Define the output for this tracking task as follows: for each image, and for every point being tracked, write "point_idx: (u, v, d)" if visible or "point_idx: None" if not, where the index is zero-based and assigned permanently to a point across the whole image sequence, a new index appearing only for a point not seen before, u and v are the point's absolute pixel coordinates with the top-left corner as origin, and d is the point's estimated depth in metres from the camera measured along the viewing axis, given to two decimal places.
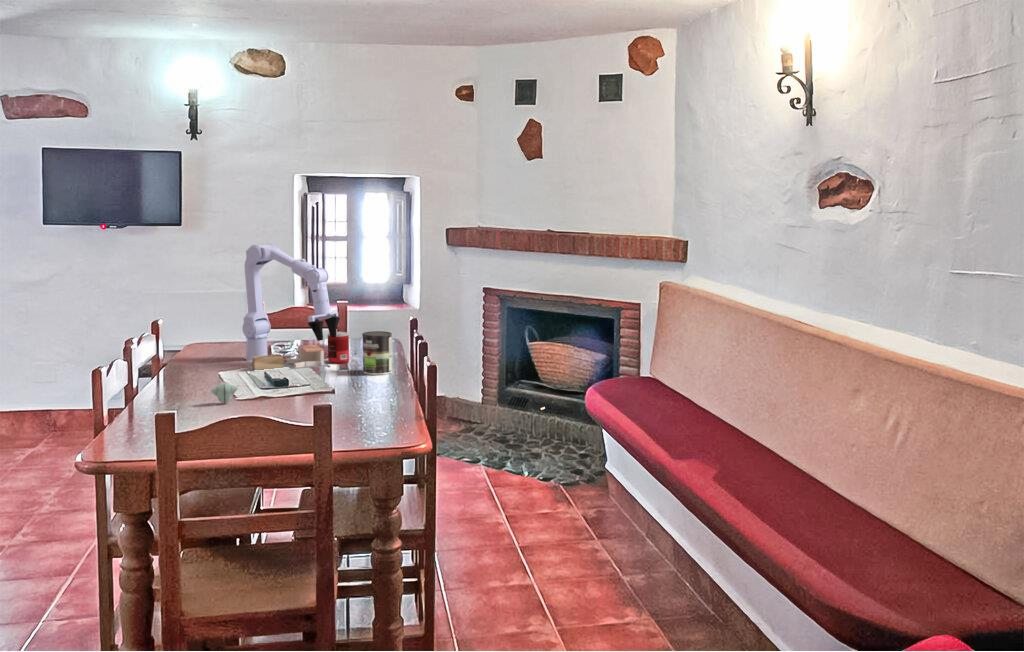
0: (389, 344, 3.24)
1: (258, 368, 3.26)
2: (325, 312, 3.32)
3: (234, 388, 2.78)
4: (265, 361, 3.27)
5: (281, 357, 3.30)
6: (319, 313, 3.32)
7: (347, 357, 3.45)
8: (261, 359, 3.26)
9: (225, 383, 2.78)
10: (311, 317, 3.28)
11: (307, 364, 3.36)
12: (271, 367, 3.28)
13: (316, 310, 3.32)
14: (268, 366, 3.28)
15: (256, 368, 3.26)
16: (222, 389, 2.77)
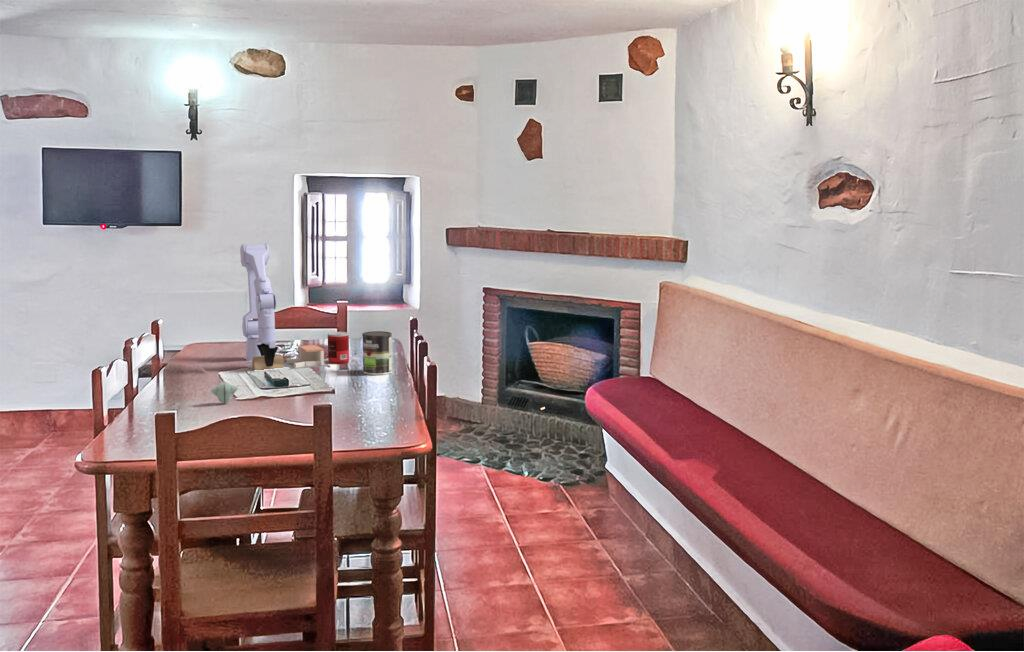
0: (389, 344, 3.24)
1: (258, 368, 3.26)
2: None
3: (234, 388, 2.78)
4: None
5: (281, 357, 3.30)
6: None
7: (347, 357, 3.45)
8: (261, 359, 3.26)
9: (225, 383, 2.78)
10: None
11: (307, 364, 3.36)
12: (271, 367, 3.28)
13: None
14: (268, 366, 3.28)
15: (256, 368, 3.26)
16: (222, 389, 2.77)
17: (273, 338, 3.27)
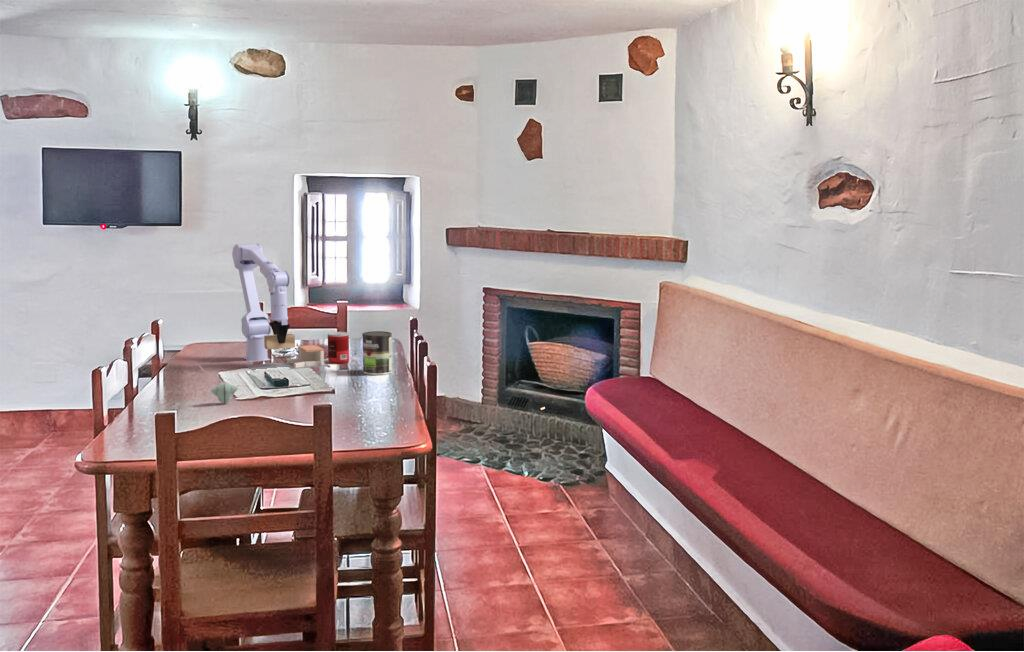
0: (389, 344, 3.24)
1: (270, 347, 3.30)
2: None
3: (234, 388, 2.78)
4: (277, 340, 3.31)
5: (293, 336, 3.34)
6: None
7: (347, 357, 3.45)
8: (273, 338, 3.30)
9: (225, 383, 2.78)
10: None
11: (307, 364, 3.36)
12: (283, 346, 3.33)
13: None
14: (279, 345, 3.32)
15: (268, 346, 3.30)
16: (222, 389, 2.77)
17: (285, 315, 3.31)
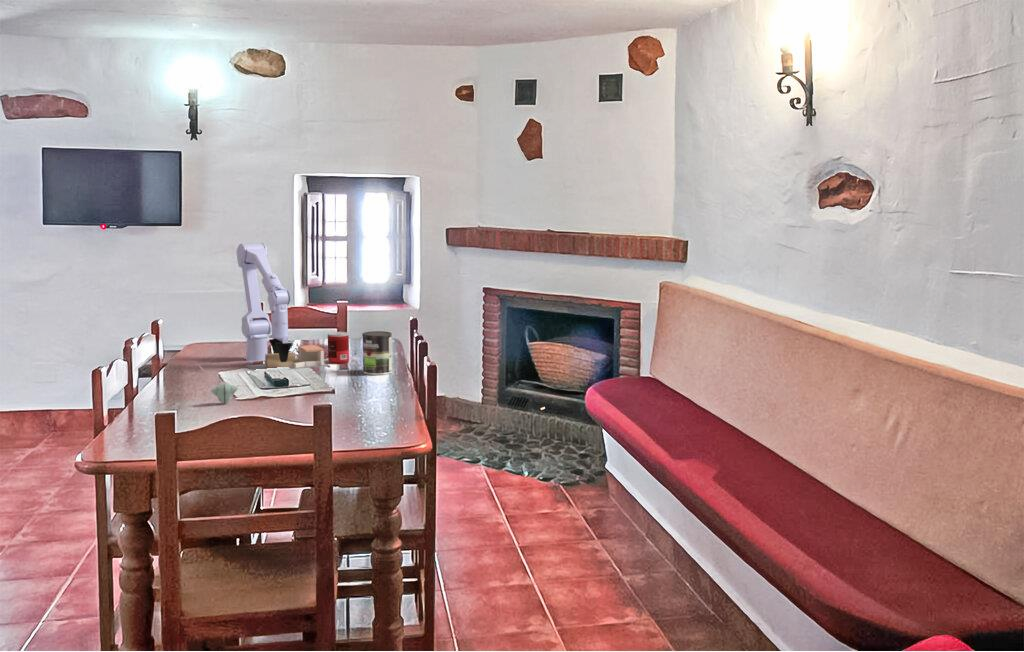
0: (389, 344, 3.24)
1: (271, 365, 3.31)
2: None
3: (234, 388, 2.78)
4: (278, 358, 3.32)
5: (293, 354, 3.35)
6: None
7: (347, 357, 3.45)
8: (274, 356, 3.31)
9: (225, 383, 2.78)
10: None
11: (307, 364, 3.36)
12: (284, 364, 3.34)
13: None
14: (280, 364, 3.33)
15: (269, 365, 3.31)
16: (222, 389, 2.77)
17: (286, 333, 3.32)
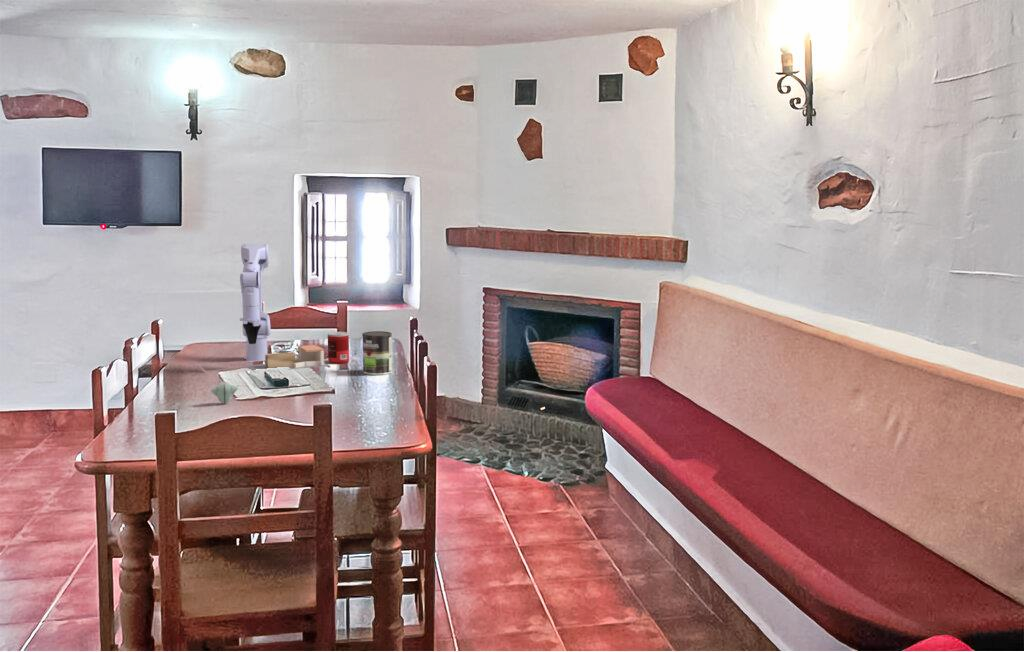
0: (389, 344, 3.24)
1: (271, 365, 3.31)
2: None
3: (234, 388, 2.78)
4: (278, 358, 3.32)
5: (293, 354, 3.35)
6: None
7: (347, 357, 3.45)
8: (274, 356, 3.31)
9: (225, 383, 2.78)
10: None
11: (307, 364, 3.36)
12: (284, 364, 3.34)
13: None
14: (280, 364, 3.33)
15: (269, 365, 3.31)
16: (222, 389, 2.77)
17: (257, 316, 3.27)
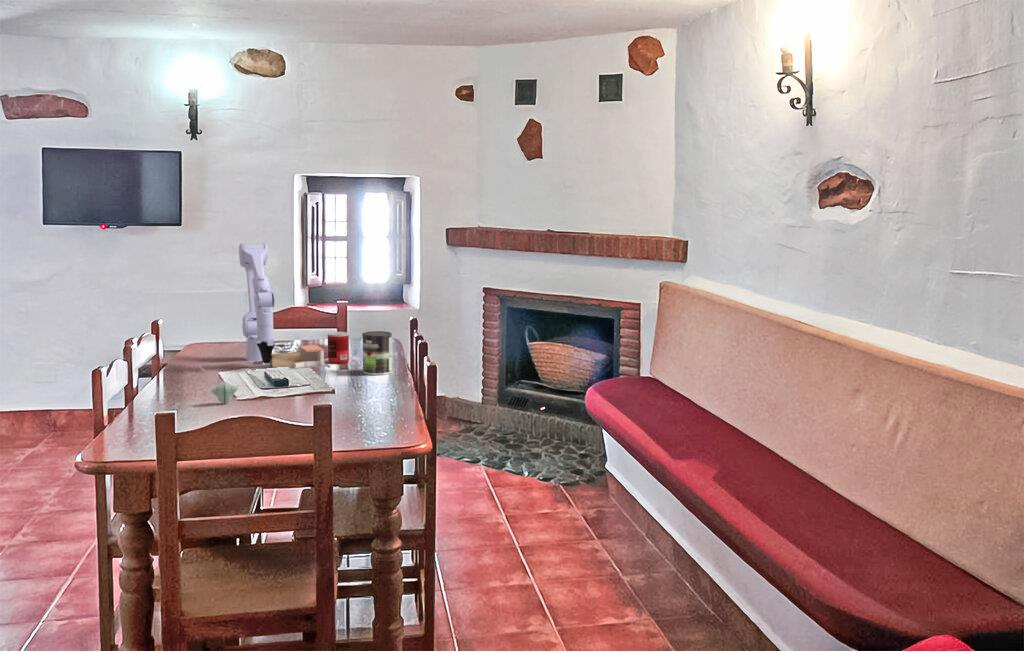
0: (389, 344, 3.24)
1: (275, 365, 3.32)
2: None
3: (234, 388, 2.78)
4: (283, 358, 3.33)
5: (298, 354, 3.36)
6: None
7: (347, 357, 3.45)
8: (278, 356, 3.32)
9: (225, 383, 2.78)
10: None
11: (307, 364, 3.36)
12: (288, 364, 3.34)
13: None
14: (285, 363, 3.34)
15: (273, 365, 3.32)
16: (222, 389, 2.77)
17: (271, 336, 3.30)
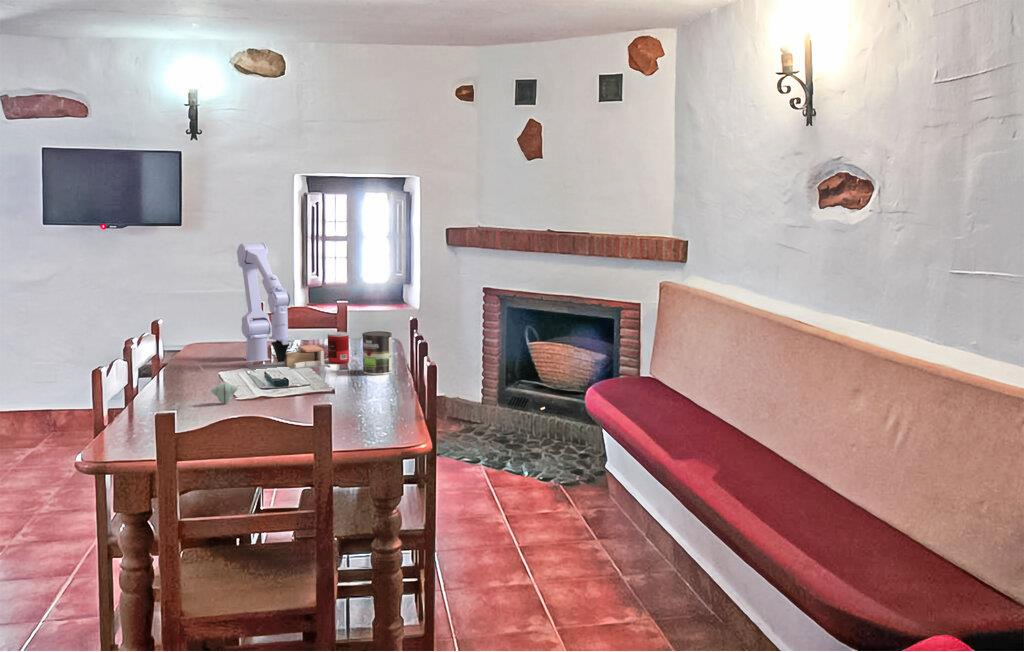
0: (389, 344, 3.24)
1: (290, 364, 3.34)
2: None
3: (234, 388, 2.78)
4: (297, 357, 3.35)
5: (312, 353, 3.38)
6: None
7: (347, 357, 3.45)
8: (293, 355, 3.35)
9: (225, 383, 2.78)
10: None
11: (307, 364, 3.36)
12: None
13: None
14: None
15: (288, 364, 3.34)
16: (222, 389, 2.77)
17: (286, 335, 3.32)
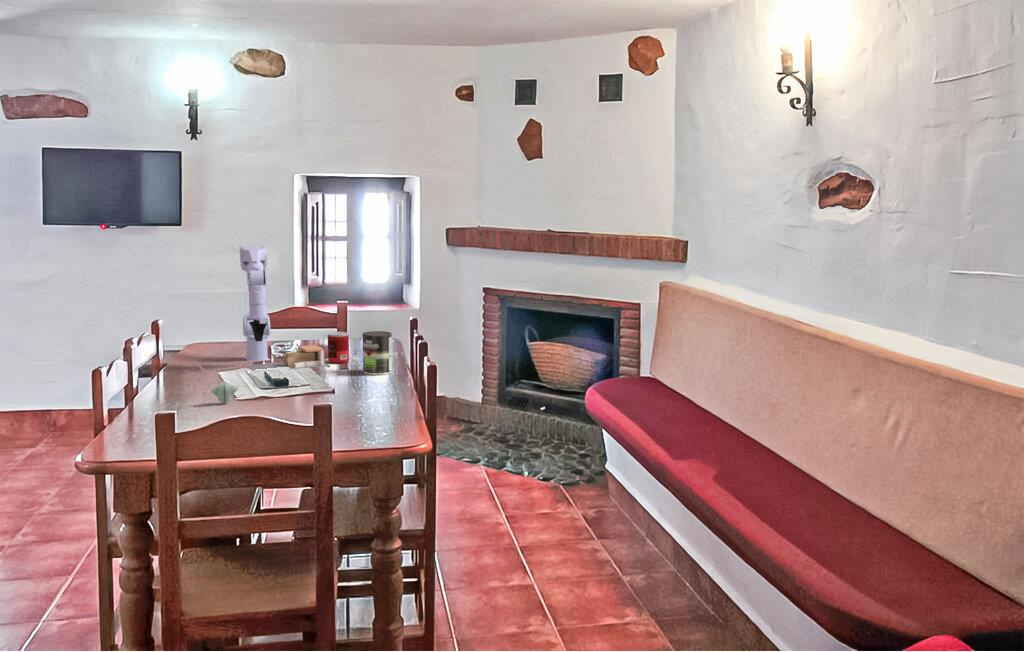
0: (389, 344, 3.24)
1: (290, 364, 3.35)
2: None
3: (234, 388, 2.78)
4: (298, 357, 3.36)
5: (313, 353, 3.38)
6: None
7: (347, 357, 3.45)
8: (294, 355, 3.35)
9: (225, 383, 2.78)
10: None
11: (307, 364, 3.36)
12: None
13: None
14: None
15: (289, 364, 3.34)
16: (222, 389, 2.77)
17: (264, 314, 3.31)
